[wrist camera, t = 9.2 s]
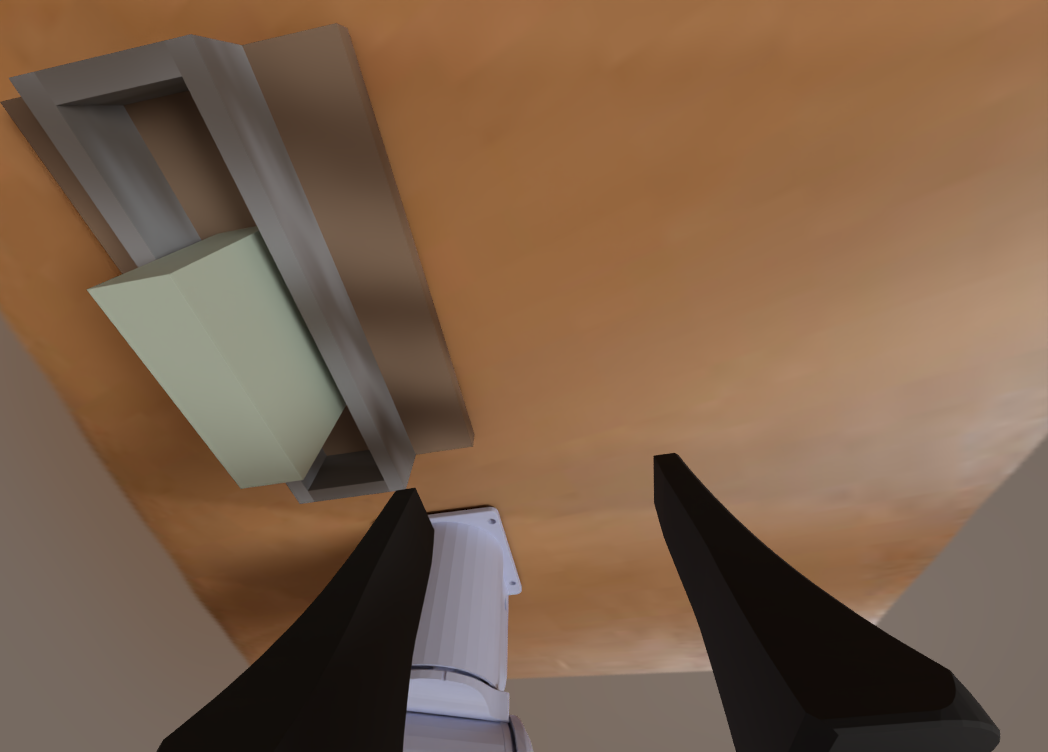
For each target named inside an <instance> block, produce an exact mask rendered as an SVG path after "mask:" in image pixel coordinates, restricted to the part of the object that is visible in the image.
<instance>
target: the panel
mask: <svg viewBox="0 0 1048 752" xmlns="http://www.w3.org/2000/svg"><path fill="white" fill-rule="evenodd" d="M87 291H88V292H89V293H90V294H91V296H92V297H93V298H94V300H95V301H96V302H97V303H98V305H99V306H100V307H101V309H102V310H103V311H104V313H105V314H106V315H107V316H108V318H109V319H110V320H111V322H112V323H113V324H114V325H115V327H116V328H117V329H118V331H119V332H120V333H121V334H122V336H123V337H124V338H125V340H126V341H127V342H128V344H129V345H130V346H131V347H132V349H133V350H134V351H135V353H136V354H137V355H138V356H139V358H140V359H141V360H142V362H143V363H144V364H145V366H146V367H147V368H148V369H149V371H150V372H151V373H152V375H153V376H154V377H155V378H156V380H157V381H158V382H159V384H160V385H161V386H162V387H163V389H164V390H165V391H166V393H167V394H168V395H169V397H170V398H171V399H172V400H173V402H174V403H175V404H176V406H177V407H178V408H179V409H180V411H181V412H182V413H183V415H184V416H185V417H186V418H187V420H188V421H189V422H190V424H191V425H192V426H193V428H194V429H195V430H196V431H197V433H198V434H199V435H200V437H201V438H202V439H203V440H204V442H205V443H206V444H207V446H208V447H209V448H210V449H211V451H212V452H213V453H214V455H215V456H216V457H217V459H218V460H219V461H220V462H221V464H222V465H223V466H224V468H225V469H226V470H227V471H228V473H229V474H230V475H231V477H232V478H233V479H234V480H235V482H236V483H237V484H238V486H239V487H240V488H241V489H242V488H249V487H256V486H264V485H271V484H278V483H285V482H292V481H299V480H304V478H305V476H306V474H307V473H308V471H309V469H310V467H311V466H312V464H313V462H314V460H315V459H316V457H317V455H318V453H319V452H320V450H321V448H322V446H323V445H324V443H325V441H326V440H327V438H328V436H329V434H330V433H331V431H332V429H333V427H334V426H335V424H336V422H337V420H338V419H339V417H340V415H341V413H342V412H343V410H344V408H345V406H346V405H347V404H346V402H345V400H344V398H343V396H342V394H341V393H340V391H339V389H338V387H337V385H336V383H335V381H334V379H333V377H332V375H331V373H330V371H329V369H328V367H327V365H326V363H325V361H324V359H323V357H322V355H321V353H320V351H319V349H318V347H317V345H316V343H315V341H314V339H313V337H312V335H311V333H310V331H309V329H308V327H307V325H306V323H305V321H304V319H303V317H302V315H301V313H300V311H299V309H298V307H297V305H296V303H295V301H294V299H293V297H292V295H291V293H290V291H289V289H288V287H287V285H286V283H285V281H284V279H283V277H282V275H281V273H280V271H279V269H278V267H277V265H276V263H275V261H274V259H273V257H272V255H271V253H270V251H269V249H268V247H267V245H266V243H265V241H264V239H263V237H262V235H261V233H260V231H259V229H258V227H257V226H255V227H250V228H244V229H239V230H234V231H229V232H224V233H219V234H216V235H213V236H211V237H209V238H206V239H204V240H202V241H199V242H197V243H195V244H192V245H190V246H188V247H185V248H183V249H181V250H178V251H176V252H174V253H171V254H169V255H167V256H164V257H162V258H159V259H157V260H155V261H152V262H150V263H148V264H145V265H143V266H141V267H138V268H136V269H134V270H131V271H129V272H127V273H124V274H122V275H120V276H117V277H115V278H113V279H110V280H108V281H106V282H103V283H101V284H99V285H96V286H94V287H92V288H89V289H87Z"/></svg>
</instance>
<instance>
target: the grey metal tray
mask: <svg viewBox="0 0 1048 752" xmlns="http://www.w3.org/2000/svg"><path fill="white" fill-rule="evenodd" d="M9 79H10V81H11V82H12V84H13V85H14V87H15V88H16V90H17V91H18V93H19V94H20V96H21V97H19V98H15V99H11V100H6V101H2V102H0V103H1V104H2V105H3V107H4V108H5V110H6V111H7V112H8V114H9V115H10V117H11V118H12V119H13V121H14V122H15V124H16V125H17V126H18V128H19V129H20V131H21V132H22V134H23V135H24V136H25V138H26V139H27V141H28V142H29V143H30V145H31V146H32V148H33V149H34V150H35V152H36V153H37V155H38V156H39V157H40V159H41V160H42V162H43V163H44V164H45V166H46V167H47V169H48V170H49V171H50V173H51V174H52V176H53V177H54V179H55V180H56V181H57V183H58V184H59V186H60V187H61V188H62V190H63V191H64V193H65V194H66V195H67V197H68V198H69V200H70V201H71V202H72V204H73V205H74V207H75V208H76V209H77V211H78V212H79V214H80V215H81V216H82V218H83V219H84V221H85V222H86V224H87V225H88V226H89V228H90V229H91V231H92V232H93V233H94V235H95V236H96V238H97V239H98V240H99V242H100V243H101V245H102V246H103V247H104V249H105V250H106V252H107V253H108V254H109V256H110V257H111V259H112V260H113V262H114V263H115V264H116V266H117V267H118V269H119V270H120V271H121V273H122V274H124V273H127V272H129V271H131V270H134V269H136V268H138V267H141V266H143V265H145V264H148V263H150V262H152V261H155V260H157V259H159V258H162V257H164V256H167V255H169V254H171V253H174V252H176V251H178V250H181V249H183V248H185V247H188V246H190V245H192V244H195V243H197V242H199V241H202V240H204V239H206V238H209V237H211V236H213V235H216V234H219V233H224V232H229V231H234V230H239V229H244V228H250V227H255V226H257V227H258V229H259V231H260V233H261V235H262V237H263V239H264V241H265V243H266V245H267V247H268V249H269V251H270V253H271V255H272V257H273V259H274V261H275V263H276V265H277V267H278V269H279V271H280V273H281V275H282V277H283V279H284V281H285V283H286V285H287V287H288V289H289V291H290V293H291V295H292V297H293V299H294V301H295V303H296V305H297V307H298V309H299V311H300V313H301V315H302V317H303V319H304V321H305V323H306V325H307V327H308V329H309V331H310V333H311V335H312V337H313V339H314V341H315V343H316V345H317V347H318V349H319V351H320V353H321V355H322V357H323V359H324V361H325V363H326V365H327V367H328V369H329V371H330V373H331V375H332V377H333V379H334V381H335V383H336V385H337V387H338V389H339V391H340V393H341V394H342V396H343V398H344V400H345V402H346V404H347V405H346V406H345V408H344V410H343V412H342V413H341V415H340V417H339V419H338V420H337V422H336V424H335V426H334V427H333V429H332V431H331V433H330V434H329V436H328V438H327V440H326V441H325V443H324V445H323V446H322V448H321V450H320V452H319V453H318V455H317V457H316V459H315V460H314V462H313V464H312V466H311V467H310V469H309V471H308V473H307V474H306V476H305V478H304V480H299V481H292V482H285V483H286V484H287V486H288V487H289V489H290V490H291V492H292V493H293V494H294V496H295V497H296V499H297V500H298V502H299V503H300V504H302V503H309V502H317V501H324V500H332V499H339V498H346V497H354V496H361V495H369V494H376V493H384V492H391V491H396V490H403V489H406V486H407V483H408V480H409V476H410V473H411V469H412V466H413V463H414V459H415V456H416V454H423V453H431V452H438V451H445V450H452V449H459V448H466V447H473V441H474V432H473V428H472V425H471V422H470V419H469V416H468V412H467V409H466V406H465V403H464V400H463V396H462V393H461V390H460V387H459V384H458V380H457V377H456V374H455V371H454V368H453V364H452V361H451V358H450V355H449V352H448V348H447V345H446V342H445V339H444V336H443V332H442V329H441V326H440V323H439V320H438V316H437V313H436V310H435V307H434V304H433V300H432V297H431V294H430V291H429V288H428V284H427V281H426V278H425V275H424V272H423V268H422V265H421V262H420V259H419V256H418V252H417V249H416V246H415V243H414V240H413V236H412V233H411V230H410V227H409V224H408V220H407V217H406V214H405V211H404V208H403V204H402V201H401V198H400V195H399V192H398V188H397V185H396V182H395V179H394V176H393V172H392V169H391V166H390V163H389V160H388V156H387V153H386V150H385V147H384V144H383V140H382V137H381V134H380V131H379V128H378V124H377V121H376V118H375V115H374V112H373V108H372V105H371V102H370V99H369V96H368V92H367V89H366V86H365V83H364V80H363V76H362V73H361V70H360V67H359V64H358V60H357V57H356V54H355V51H354V48H353V44H352V41H351V38H350V35H349V32H348V28H346V27H344V26H342V25H339V24H337V23H335V24H331V25H327V26H323V27H318V28H314V29H310V30H305V31H301V32H297V33H293V34H288V35H284V36H280V37H276V38H271V39H267V40H263V41H258V42H254V43H250V44H246V45H238V44H233V43H229V42H224V41H219V40H215V39H210V38H206V37H201V36H196V35H192V34H191V35H186V36H182V37H178V38H174V39H170V40H165V41H161V42H157V43H153V44H149V45H144V46H140V47H136V48H132V49H128V50H124V51H119V52H115V53H111V54H107V55H103V56H98V57H94V58H90V59H86V60H82V61H78V62H73V63H69V64H65V65H61V66H57V67H52V68H48V69H44V70H40V71H36V72H31V73H27V74H23V75H19V76H15V77H11V78H9Z"/></svg>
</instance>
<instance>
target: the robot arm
mask: <svg viewBox="0 0 1048 752" xmlns="http://www.w3.org/2000/svg"><path fill="white" fill-rule="evenodd" d="M654 504H655V508H656V511H657V515H658V519H659V522H660V526H661V529H662V533H663V536H664V539H665V541H666V544H667V546H668V549H669V551H670V554H671V556H672V559H673V561H674V564H675V566H676V569H677V571H678V574H679V576H680V579H681V581H682V584H683V586H684V589H685V591H686V593H687V596H688V598H689V601H690V603H691V606H692V608H693V611H694V613H695V616H696V619H697V622H698V625H699V627H700V630H701V634H702V637H703V640H704V643H705V647H706V650H707V653H708V656H709V660H710V663H711V666H712V670H713V673H714V676H715V680H716V683H717V687H718V690H719V693H720V697H721V700H722V704H723V707H724V711H725V714H726V717H727V721H728V724H729V728H730V732H731V735H732V739H733V743H734V746H735V749H736V752H991V751H992V750H994V749H995V747H996V746H997V745H998V744H999V742H1000V730H999V729H998V727H997V726H996V725H995V723H994V722H993V721H992V720H991V718H990V717H989V716H988V715H987V713H986V712H985V711H984V709H983V708H982V707H981V705H980V704H979V703H978V702H977V700H976V699H975V698H974V697H973V696H972V694H971V693H970V692H969V691H968V690H967V689H966V688H965V687H964V685H963V684H962V683H961V682H960V681H959V680H958V679H957V678H956V677H955V676H954V674H953V673H952V672H951V671H950V670H948V669H947V668H945V667H943V666H942V665H940V664H938V663H937V662H935V661H933V660H931V659H930V658H928V657H926V656H924V655H923V654H921V653H919V652H918V651H916V650H914V649H913V648H911V647H909V646H907V645H906V644H904V643H902V642H901V641H899V640H897V639H896V638H894V637H892V636H891V635H889V634H887V633H886V632H884V631H883V630H881V629H880V628H878V627H877V626H875V625H874V624H872V623H870V622H869V621H867V620H866V619H864V618H863V617H861V616H860V615H858V614H857V613H855V612H854V611H852V610H851V609H849V608H848V607H847V606H845V605H844V604H842V603H841V602H839V601H838V600H837V599H835V598H834V597H832V596H831V595H829V594H828V593H827V592H825V591H824V590H822V589H821V588H819V587H818V586H817V585H815V584H814V583H812V582H811V581H810V580H808V579H807V578H806V577H805V576H803V575H802V574H801V573H799V572H798V571H797V570H795V569H794V568H793V567H792V566H790V565H789V564H788V563H787V562H785V561H784V560H783V559H782V558H780V557H779V556H778V555H777V554H775V553H774V552H773V551H772V550H771V549H770V548H768V547H767V546H766V545H765V544H764V543H763V542H761V541H760V540H759V539H758V538H757V537H756V536H755V535H754V534H752V533H751V532H750V531H749V530H748V529H747V528H746V527H745V526H744V525H743V524H742V523H741V522H739V521H738V520H737V519H736V518H735V517H734V516H733V515H732V514H731V513H730V512H729V511H728V510H727V509H726V508H725V507H724V506H723V505H722V504H721V503H720V502H719V501H718V500H717V499H716V498H715V497H714V496H713V494H712V493H711V492H710V491H709V490H708V489H707V488H706V487H705V486H704V485H703V484H702V483H701V481H700V480H699V479H698V478H697V477H696V476H695V475H694V473H693V472H692V471H691V470H690V469H689V468H688V466H687V465H686V464H685V463H684V462H683V460H682V459H681V458H680V457H679V455H677V454H676V453H670V454H663V455H655V456H654ZM520 592H521V583H520V579H519V576H518V573H517V570H516V567H515V563H514V560H513V557H512V554H511V551H510V548H509V544H508V541H507V538H506V535H505V532H504V528H503V525H502V522H501V519H500V516H499V512H498V510H497V509H496V508H494V507H485V508H477V509H469V510H461V511H454V512H446V513H438V514H430V515H427V512H426V510H425V508H424V506H423V504H422V501H421V499H420V497H419V495H418V493H417V490H416V488H410V489H403V490H396V492H395V493H394V494H393V496H392V497H391V498H390V500H389V501H388V503H387V504H386V506H385V507H384V509H383V510H382V511H381V513H380V514H379V516H378V517H377V519H376V520H375V522H374V523H373V525H372V526H371V527H370V529H369V530H368V532H367V533H366V535H365V536H364V537H363V539H362V540H361V542H360V543H359V544H358V546H357V547H356V548H355V550H354V551H353V553H352V554H351V555H350V557H349V558H348V559H347V561H346V562H345V563H344V564H343V566H342V567H341V568H340V570H339V571H338V572H337V573H336V575H335V576H334V577H333V579H332V580H331V581H330V582H329V584H328V585H327V586H326V587H325V589H324V590H323V591H322V592H321V593H320V595H319V596H318V597H317V598H316V599H315V600H314V602H313V603H312V604H311V605H310V606H309V607H308V608H307V609H306V611H305V612H304V613H303V614H302V615H301V616H300V617H299V618H298V619H297V620H296V621H295V623H294V624H293V625H292V626H291V627H290V628H289V629H288V630H287V631H286V632H285V633H284V634H283V635H282V636H281V637H280V638H279V639H278V640H277V641H276V642H275V643H274V644H273V645H272V646H271V647H270V648H269V649H268V650H267V651H266V652H265V653H264V654H263V655H262V656H261V657H260V658H259V659H258V660H256V661H255V662H254V663H253V664H252V665H251V666H250V667H249V668H248V669H247V670H246V671H245V672H244V673H242V674H241V675H240V676H239V677H238V678H237V679H236V680H235V681H234V682H233V683H231V684H230V685H229V686H228V687H227V688H226V689H225V690H223V691H222V692H221V693H220V694H219V695H218V696H217V697H215V698H214V699H213V700H212V701H211V702H209V703H208V704H207V705H206V706H204V707H203V708H202V709H201V710H200V711H198V712H197V713H196V714H195V715H194V716H192V717H191V718H190V719H189V720H187V721H186V722H185V723H184V724H182V725H181V726H180V727H179V728H178V729H176V730H175V731H174V732H173V733H171V734H170V735H169V736H168V737H166V738H165V739H164V740H163V741H162V743H161V745H160V746H159V748H158V750H157V752H533V748H532V745H531V741H530V738H529V736H528V734H527V732H526V731H525V728H524V725H523V724H522V722H521V720H520V719H519V717H518V716H515V715H509V693H508V692H505V691H504V689H505V685H506V679H507V646H508V595H514V594H519V593H520Z"/></svg>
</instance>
